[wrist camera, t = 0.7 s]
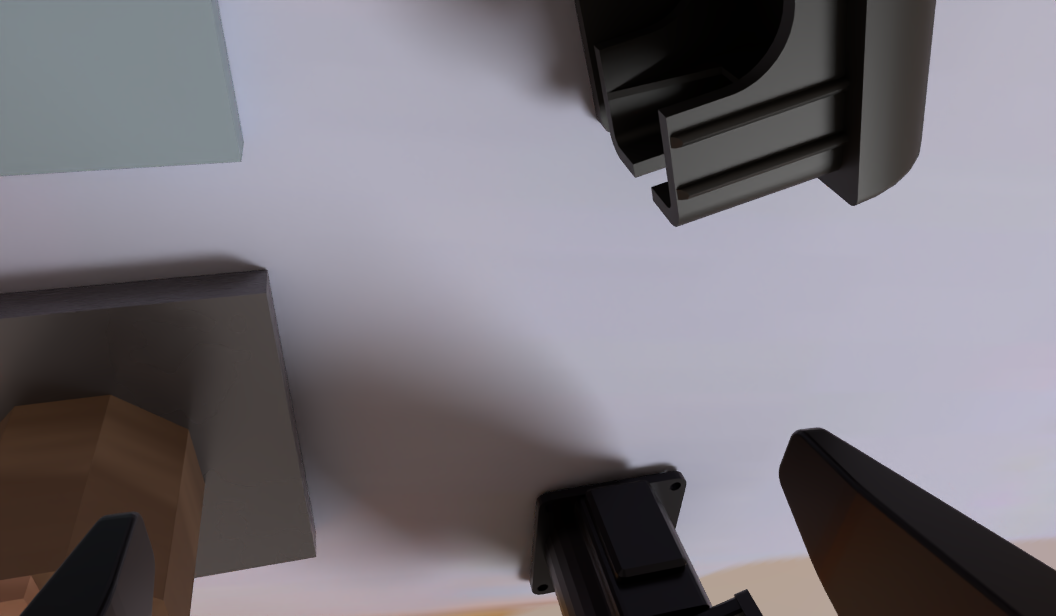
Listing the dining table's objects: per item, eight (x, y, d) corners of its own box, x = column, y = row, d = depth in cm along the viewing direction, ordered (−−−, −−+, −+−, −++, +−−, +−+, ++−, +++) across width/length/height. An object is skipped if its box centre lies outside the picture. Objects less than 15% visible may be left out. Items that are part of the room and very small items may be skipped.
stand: (315, 530, 29) (320, 704, 24) (-38, 589, 27) (-120, 799, 21) (267, 269, 22) (259, 434, 17) (-220, 314, 20) (-408, 525, 14)
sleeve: (215, 518, 26) (196, 709, 21) (18, 549, 25) (-54, 762, 20) (175, 386, 22) (141, 578, 17) (-57, 414, 21) (-169, 631, 16)
